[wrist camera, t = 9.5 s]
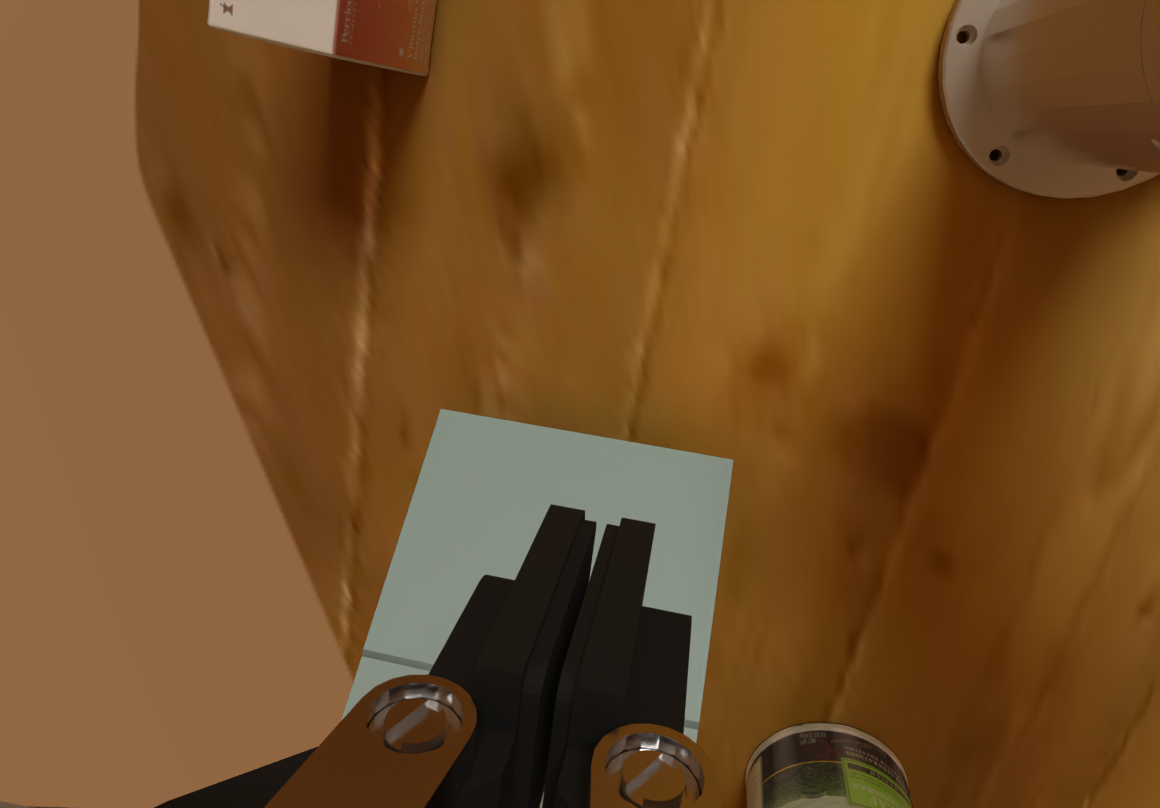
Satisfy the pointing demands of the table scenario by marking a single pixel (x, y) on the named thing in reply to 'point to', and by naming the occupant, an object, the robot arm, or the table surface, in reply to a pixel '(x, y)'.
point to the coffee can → (825, 770)
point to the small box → (337, 28)
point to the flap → (512, 519)
